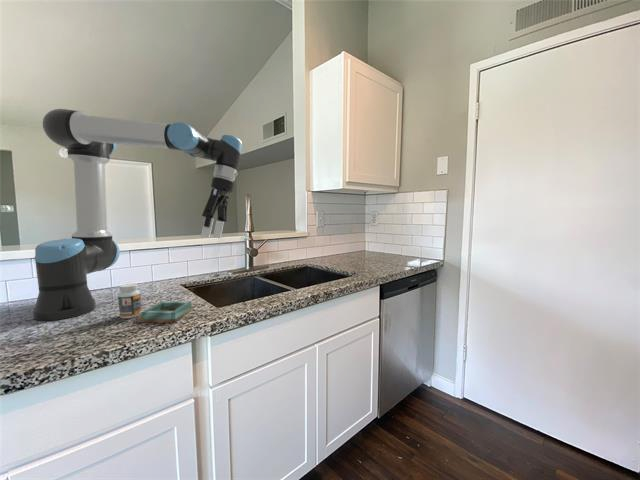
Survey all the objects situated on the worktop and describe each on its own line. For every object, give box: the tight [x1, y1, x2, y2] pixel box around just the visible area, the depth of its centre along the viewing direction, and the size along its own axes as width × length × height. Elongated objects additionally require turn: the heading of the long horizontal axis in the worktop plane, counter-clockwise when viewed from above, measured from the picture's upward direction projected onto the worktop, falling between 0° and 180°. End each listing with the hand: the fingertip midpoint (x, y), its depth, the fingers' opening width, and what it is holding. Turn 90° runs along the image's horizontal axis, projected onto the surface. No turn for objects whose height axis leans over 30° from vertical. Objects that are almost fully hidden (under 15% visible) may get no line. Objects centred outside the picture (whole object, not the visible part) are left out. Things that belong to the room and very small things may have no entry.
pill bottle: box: [117, 282, 142, 320], centre depth 90 cm, size 6×6×10 cm
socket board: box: [135, 301, 192, 324], centre depth 90 cm, size 12×10×3 cm
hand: (211, 237), depth 102 cm, fingers open, 13 cm apart
